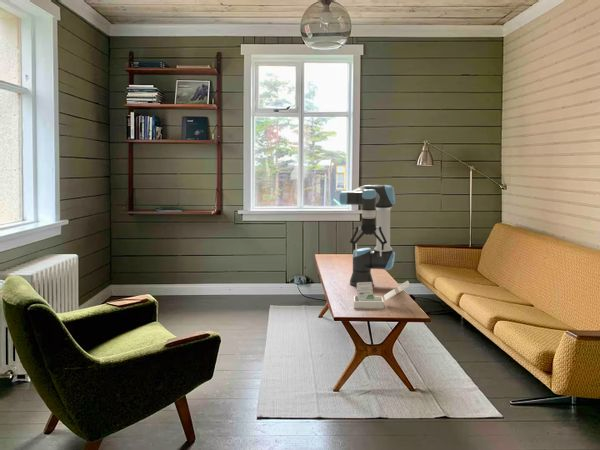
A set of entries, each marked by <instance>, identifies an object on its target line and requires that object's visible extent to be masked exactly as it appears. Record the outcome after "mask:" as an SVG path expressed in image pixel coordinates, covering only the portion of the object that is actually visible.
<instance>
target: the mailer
mask: <svg viewBox="0 0 600 450" xmlns="http://www.w3.org/2000/svg"><path fill="white" fill-rule="evenodd" d="M373 296H374V295H373ZM384 300H385V299H384V296H382V295H381V296H379V295H378V296H377V295H375V296H374V301H358V295H353V309H362V310H363V309H364V310H365V309H369V310H370V309H371V310H377V309H378V310H384V309H385V301H384Z"/></svg>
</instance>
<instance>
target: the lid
mask: <svg viewBox="0 0 600 450" xmlns="http://www.w3.org/2000/svg"><path fill="white" fill-rule="evenodd" d="M409 287H411V284H410V282H409V280H406V281H404V282H403V283H402V284H400V285H398V286H396V287H395V288H393V289H392V290H390V291H388V292H387V293H385V294H384V295H383V299H384V300H385V301H384V302H387V301H388V300H390V299H392V298H394V297H395V296H396V295H398V294H400V293H401V292H404V290H406V289H407V288H409Z"/></svg>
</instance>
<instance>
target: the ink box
mask: <svg viewBox="0 0 600 450" xmlns="http://www.w3.org/2000/svg"><path fill="white" fill-rule="evenodd" d="M373 288H374V287H373V285H372V282H359V283H357V286H356V292H357V293H356V294H357V295H356V296H358V301H374V291H373V290H374V289H373Z"/></svg>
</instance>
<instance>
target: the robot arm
mask: <svg viewBox="0 0 600 450" xmlns="http://www.w3.org/2000/svg"><path fill="white" fill-rule="evenodd" d="M338 200H339V203H340V205H345V206H347V205H351V206H352V205H355V206H356V205H357V206H361V207H362V208H361V217H362V218H361V226H358V225H356V226H355V231H354V232H353V235H352V237H351V239H350V240H349V243H350V244H353V245H352V246H353V248H352V249H353V251H352V273H351V276H350V279H349V285H351V286H353V287H357V283H359V282H372V286H373V285H374V279H373V276H372V273H371V272H372V269H373V270H383V271H385V270H388V271H389V270H392V269H393V267H394V263H395V257H396V252H395V251H393V247H391V209H392V208H393V207H394V205H395V204H396V193H395V188H394V186H392V185H389V184H366V185H362V186H358V187H355V189H353V190H350V191H349V190H348V191H347V190H345V191H340V193H339V199H338ZM360 230H361V231H362V232H360V234H359V235H358V236H357V233H358V232H359V231H360ZM364 235H374V236H375V238H376V245H375V247H374V248H373V250H372V249H371V247H362V248H358V244H357V242H359V240H360V239H361V238H363V236H364ZM356 236H357V237H356Z"/></svg>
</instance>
